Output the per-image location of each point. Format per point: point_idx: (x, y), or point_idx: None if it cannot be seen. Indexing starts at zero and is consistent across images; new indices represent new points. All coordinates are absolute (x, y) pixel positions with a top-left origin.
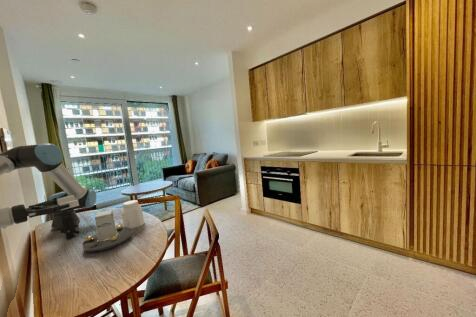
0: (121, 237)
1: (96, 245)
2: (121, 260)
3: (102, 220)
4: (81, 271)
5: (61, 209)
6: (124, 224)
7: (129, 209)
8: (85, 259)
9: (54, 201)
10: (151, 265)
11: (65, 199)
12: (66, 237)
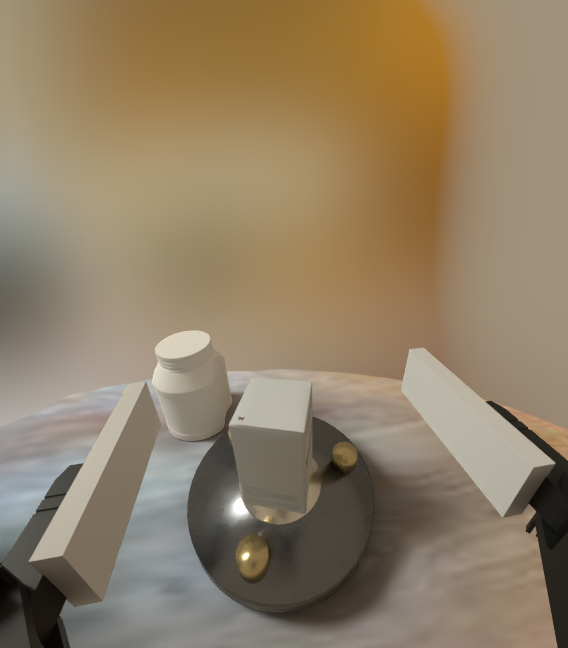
0: (335, 440)
1: (349, 527)
2: (463, 469)
3: (309, 426)
4: (518, 625)
5: (518, 500)
6: (201, 425)
7: (212, 364)
8: (394, 606)
9: (15, 639)
10: (516, 413)
11: (123, 466)
12: None
